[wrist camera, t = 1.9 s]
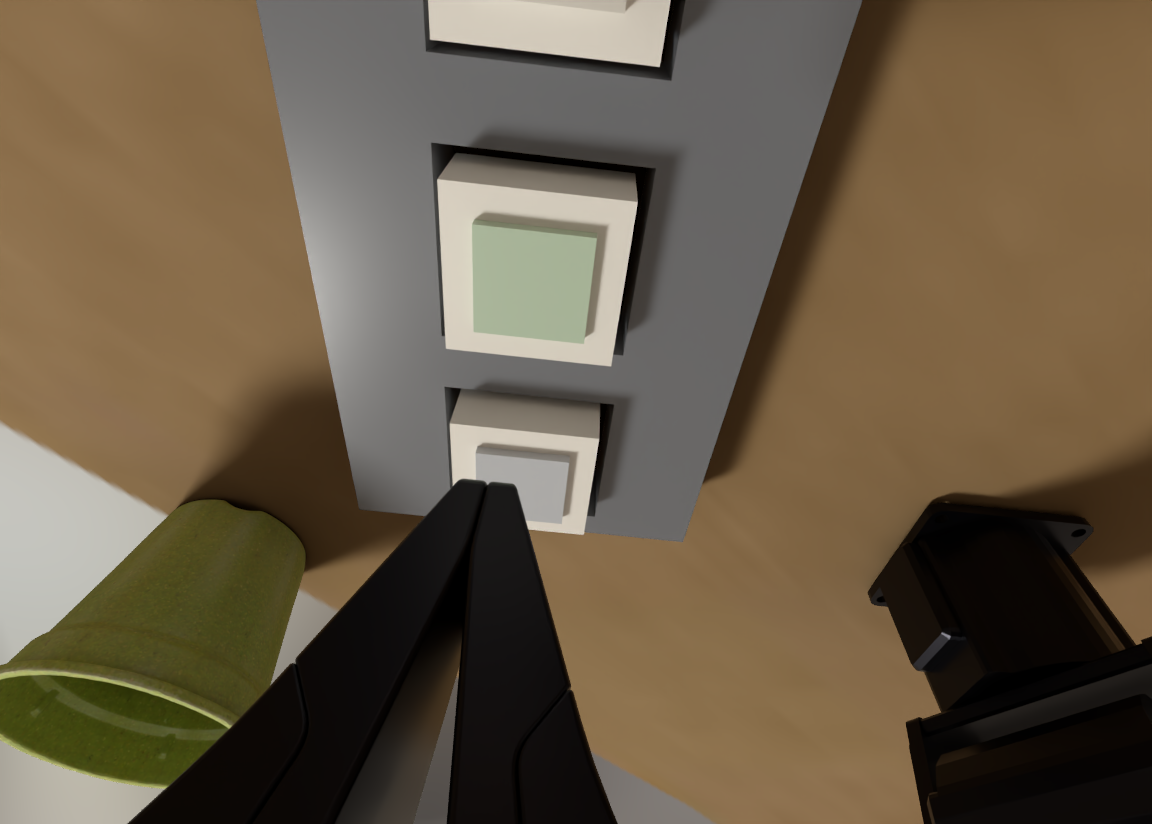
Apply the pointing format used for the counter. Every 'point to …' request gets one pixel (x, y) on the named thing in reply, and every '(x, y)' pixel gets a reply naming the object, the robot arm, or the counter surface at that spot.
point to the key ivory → (557, 27)
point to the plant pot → (159, 649)
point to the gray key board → (559, 129)
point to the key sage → (534, 257)
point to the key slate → (530, 452)
